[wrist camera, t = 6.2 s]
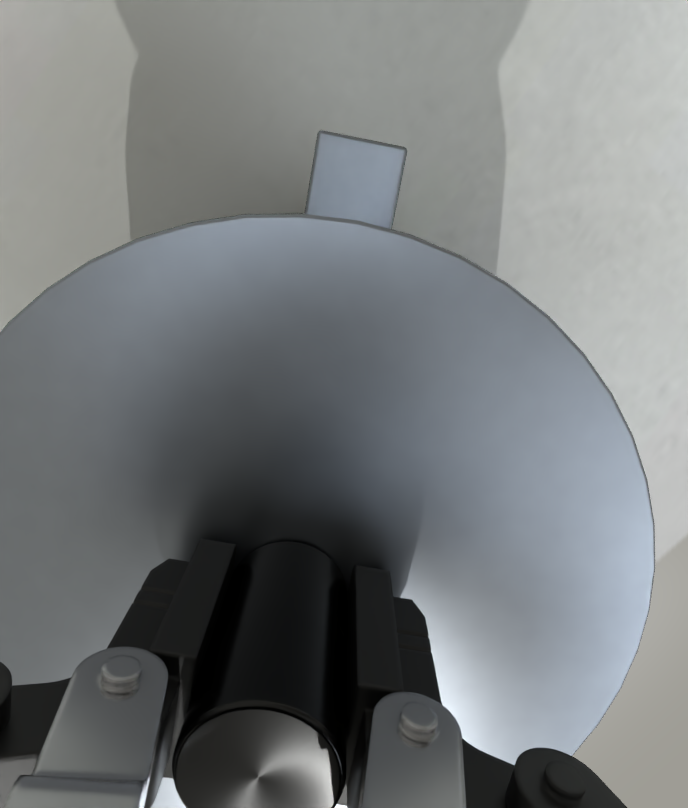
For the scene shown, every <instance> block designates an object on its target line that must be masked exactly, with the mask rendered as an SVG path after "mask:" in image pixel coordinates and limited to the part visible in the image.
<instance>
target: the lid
mask: <svg viewBox="0 0 688 808" xmlns="http://www.w3.org/2000/svg"><path fill="white" fill-rule="evenodd" d="M201 538H202V539H208V540H213V541H219V542H225V543H231V544H236V546H237V547H236V556H235V563H234V569H233V574H232V577H231V580H230V583H229V586H228V589H227V592H226V595H225V598H224V601H223V604H222V607H221V610H220V613H219V616H218V619H217V622H216V626H215V629H214V632H213V635H212V638H211V641H210V644H209V647H208V650H207V653H206V656H205V659H204V662H203V665H202V668H201V671H200V674H199V677H198V680H197V683H196V686H195V689H194V692H193V695H192V699H191V702H190V705H189V707H188V710H187V712H186V715H185V718H184V721H183V724H182V727H181V730H180V733H179V736H178V739H177V742H176V745H175V749H174V753H173V757H172V774H173V779H172V778H165V777H163V778H162V781H161V784H160V787H159V790H158V793H157V796H156V799H155V801H154V803H153V805H152V806H151V808H347V806H345V805H338V804H337V803H338V801H339V799H340V797H341V795H342V793H343V790H344V787H345V782H346V756H347V593H348V588H349V583H350V579H351V574H352V570H353V567H354V565H359V566H365V567H371V568H377V569H382V570H388V571H390V574H391V583H392V592H393V596H394V597H399V598H405V599H411V600H413V602H414V603H415V604H416V605H417V607H418V608H419V609H420V611H421V612H422V613H423V615H424V616H425V619H426V624H427V629H428V634H429V635H428V638H429V640H430V645H431V653H432V655H433V661H434V666H435V671H436V676H437V682H438V687H439V692H440V697H441V702H442V705H443V706H444V707H446V708H447V709H448V710H449V711H450V712H451V713H452V715H453V716H454V717H455V719H456V720H457V722H458V724H459V726H460V729H461V733H462V738H463V739H464V740H465V741H466V742H468V743H469V744H470V745H472V746H474V747H475V748H477V749H479V750H481V751H483V752H485V753H487V754H489V755H491V756H494V757H496V758H499V759H501V760H503V761H506V762H508V763H510V764H513V765H515V763H516V760H517V758H518V757H519V755H520V754H521V753H523V752H524V751H526V750H528V749H531V748H551V749H555V750H558V751H561V752H564V753H566V754H568V755H570V756H572V755H573V754H574V753H575V752H576V751H577V749H578V748H579V747H580V746H581V745H582V744H583V742H584V741H585V740H586V739H587V737H588V736H589V735H590V734H591V732H592V731H593V730H594V729H595V728H596V726H597V725H598V724H599V722H600V721H601V719H602V718H603V716H604V715H605V713H606V711H607V710H608V708H609V707H610V705H611V703H612V701H613V700H614V699H615V697H616V695H617V694H618V692H619V690H620V689H621V687H622V685H623V682H624V680H625V678H626V676H627V673H628V671H629V669H630V667H631V665H632V662H633V660H634V658H635V655H636V653H637V651H638V648H639V644H640V641H641V637H642V633H643V630H644V626H645V624H646V620H647V617H648V613H649V608H650V601H651V594H652V586H653V578H654V572H655V535H654V519H653V513H652V507H651V501H650V494H649V488H648V482H647V478H646V475H645V472H644V469H643V466H642V462H641V459H640V456H639V453H638V450H637V447H636V444H635V441H634V438H633V435H632V433H631V431H630V429H629V427H628V425H627V423H626V421H625V419H624V417H623V415H622V413H621V411H620V409H619V407H618V405H617V403H616V401H615V399H614V397H613V395H612V393H611V392H610V390H609V389H608V387H607V386H606V384H605V383H604V382H603V380H602V379H601V377H600V376H599V374H598V373H597V371H596V370H595V369H594V367H593V366H592V364H591V363H590V361H589V360H588V359H587V357H586V356H585V354H584V353H583V352H582V351H581V350H580V349H579V348H578V347H577V345H576V344H575V343H574V342H573V341H572V340H571V339H570V338H569V337H568V336H567V335H566V334H565V333H564V332H563V331H562V329H561V328H560V327H559V326H558V325H557V324H556V323H555V322H554V321H553V320H552V319H551V318H550V317H549V316H548V315H547V314H546V313H544V312H543V311H542V310H541V309H539V308H538V307H537V306H536V305H534V304H533V303H532V302H531V301H529V300H528V299H527V298H526V297H524V296H523V295H522V294H521V293H519V292H518V291H517V290H516V289H514V288H513V287H512V286H511V285H509V284H508V283H507V282H505V281H503V280H501V279H500V278H498V277H496V276H495V275H493V274H491V273H490V272H488V271H486V270H485V269H483V268H481V267H480V266H478V265H476V264H474V263H473V262H471V261H469V260H468V259H466V258H464V257H463V256H461V255H458V254H456V253H453V252H451V251H449V250H446V249H444V248H441V247H439V246H437V245H434V244H432V243H430V242H427V241H425V240H422V239H420V238H418V237H415V236H413V235H410V234H406V233H403V232H399V231H395V230H391V229H388V228H384V227H380V226H376V225H372V224H369V223H365V222H361V221H357V220H350V219H342V218H334V217H326V216H318V215H310V214H244V215H237V216H230V217H224V218H217V219H210V220H204V221H197V222H191V223H187V224H184V225H181V226H177V227H174V228H170V229H167V230H164V231H160V232H157V233H154V234H150V235H147V236H144V237H140V238H137V239H135V240H133V241H131V242H129V243H127V244H124V245H122V246H120V247H118V248H116V249H114V250H111V251H109V252H107V253H105V254H103V255H100V256H98V257H96V258H94V259H92V260H90V261H88V262H87V263H85V264H84V265H82V266H81V267H79V268H77V269H76V270H74V271H73V272H71V273H70V274H68V275H67V276H65V277H64V278H62V279H61V280H59V281H57V282H56V283H54V284H53V285H51V286H50V287H48V288H47V289H46V290H44V291H43V292H42V293H41V294H40V295H39V296H38V297H36V298H35V299H34V300H33V301H32V302H31V303H30V304H29V305H27V306H26V307H25V308H24V309H23V310H22V311H21V312H20V313H18V314H17V315H16V316H15V317H14V318H13V319H12V320H11V321H9V322H8V324H7V325H6V326H5V327H4V328H3V330H2V331H1V332H0V662H2V663H3V664H4V665H5V666H6V667H7V668H8V669H9V671H10V673H11V675H12V686H13V685H26V684H38V683H49V682H56V681H60V680H65V679H68V678H71V677H72V674H73V672H74V671H75V669H76V667H77V666H78V665H79V664H80V663H81V662H82V661H83V660H84V659H85V658H87V657H89V656H90V655H92V654H94V653H96V652H98V651H101V650H104V649H107V647H108V645H109V644H110V642H111V640H112V638H113V636H114V635H115V633H116V631H117V629H118V628H119V626H120V624H121V622H122V620H123V619H124V617H125V615H126V613H127V612H128V610H129V608H130V606H131V604H132V603H134V599H135V597H136V596H137V594H138V592H139V590H141V587H142V585H143V583H144V581H145V580H146V578H147V576H148V574H149V573H150V571H151V570H152V569H154V568H155V567H157V566H158V565H160V564H161V563H163V562H164V561H166V560H167V559H169V558H170V559H175V560H181V561H187V562H190V560H191V558H192V555H193V553H194V551H195V549H196V547H197V545H198V543H199V541H200V539H201Z"/></svg>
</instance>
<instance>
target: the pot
mask: <svg viewBox="0 0 688 808" xmlns="http://www.w3.org/2000/svg"><path fill="white" fill-rule="evenodd" d="M406 155H407V149H406V148H405V147H402V146H397V145H392V144H387V143H382V142H377V141H372V140H367V139H362V138H357V137H352V136H347V135H342V134H337V133H332V132H327V131H319V132H318V134H317V140H316V146H315V152H314V158H313V165H312V171H311V177H310V183H309V189H308V195H307V201H306V207H305V214H310V215H318V216H326V217H334V218H342V219H350V220H357V221H361V222H365V223H369V224H372V225H376V226H380V227H384V228H388V229H391V230H392V225H393V220H394V215H395V210H396V205H397V200H398V195H399V190H400V185H401V180H402V175H403V170H404V165H405V160H406Z"/></svg>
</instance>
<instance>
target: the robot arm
mask: <svg viewBox="0 0 688 808" xmlns="http://www.w3.org/2000/svg"><path fill="white" fill-rule="evenodd" d="M236 547H237V546H236V544H231V543H225V542H219V541H213V540H208V539H202V538H201V539H200V541H199V543H198V545H197V547H196V549H195V551H194V553H193V555H192V558H191V560H190V562H187V561H181V560H175V559H170V558H169V559H167V560H166V561H164V562H163V563H161V564H160V565H158V566H157V567H155V568H154V569H152V570H151V571H150V573H149V574H148V576H147V578H146V580H145V581H144V583H143V585H142V587H141V590H139V592H138V594H137V596H136V597H135V599H134V603H132V604H131V606H130V608H129V610H128V612H127V613H126V615H125V617H124V619H123V620H122V622H121V624H120V626H119V628H118V629H117V631H116V633H115V635H114V636H113V638H112V640H111V642H110V644H109V645H108V647H107V649H104V650H101V651H98V652H96V653H94V654H92V655H90V656H89V657H87V658H85V659H84V660H83V661H82V662H81V663H80V664H79V665H78V666H77V667H76V669H75V671H74V672H73V674H72V677H71V678H68V679H65V680H60V681H56V682H49V683H38V684H26V685H13V686H12V675H11V673H10V671H9V669H8V668H7V667H6V666H5V665H4V664H3V663H2V662H0V808H151V806H152V805H153V803H154V801H155V799H156V796H157V793H158V790H159V787H160V784H161V781H162V778H163V777H165V778H172V779H173V774H172V757H173V753H174V749H175V745H176V742H177V739H178V736H179V733H180V730H181V727H182V724H183V721H184V718H185V715H186V712H187V710H188V707H189V705H190V702H191V699H192V695H193V692H194V689H195V686H196V683H197V680H198V677H199V674H200V671H201V668H202V665H203V662H204V659H205V656H206V653H207V650H208V647H209V644H210V641H211V638H212V635H213V632H214V629H215V626H216V622H217V619H218V616H219V613H220V610H221V607H222V604H223V601H224V598H225V595H226V592H227V589H228V586H229V583H230V580H231V577H232V574H233V569H234V563H235V556H236ZM428 635H429V634H428V629H427V624H426V619H425V616H424V615H423V613H422V612H421V611H420V609H419V608H418V607H417V605H416V604H415V603H414V602H413V600H411V599H405V598H399V597H394V596H393V592H392V583H391V574H390V571H388V570H382V569H377V568H371V567H365V566H359V565H354V567H353V570H352V574H351V579H350V583H349V588H348V593H347V756H346V782H345V787H344V790H343V793H342V795H341V797H340V799H339V801H338V803H337V804H338V805H345V806H347V808H627V807H626V806H625V805H624V804H623V803H622V802H621V800H620V799H619V798H618V797H617V796H616V795H615V794H614V793H613V792H612V791H611V790H610V789H609V788H608V787H607V786H606V785H605V783H604V782H602V780H601V779H600V778H599V777H598V776H597V775H596V774H595V773H594V772H593V771H592V770H591V769H589V768H588V767H587V766H586V765H585V764H583V763H582V762H580V761H579V760H577V759H576V758H574V757H572V756H570V755H568V754H566V753H564V752H561V751H558V750H555V749H551V748H531V749H528V750H526V751H524V752H523V753H521V754H520V755H519V757H518V758H517V760H516V763H515V765H513V764H510V763H508V762H506V761H503V760H501V759H499V758H496V757H494V756H491V755H489V754H487V753H485V752H483V751H481V750H479V749H477V748H475V747H474V746H472V745H470V744H469V743H468V742H466V741H465V740H464V739H463V738H462V733H461V729H460V726H459V724H458V722H457V720H456V719H455V717H454V716H453V715H452V713H451V712H450V711H449V710H448V709H447V708H446V707H444V706H443V705H442V702H441V697H440V692H439V687H438V682H437V676H436V671H435V666H434V661H433V655H432V653H431V645H430V640H429V638H428Z"/></svg>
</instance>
